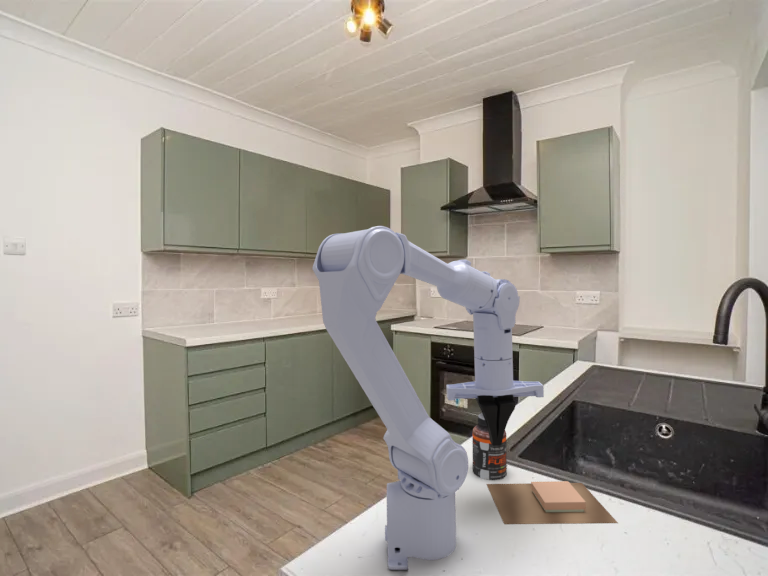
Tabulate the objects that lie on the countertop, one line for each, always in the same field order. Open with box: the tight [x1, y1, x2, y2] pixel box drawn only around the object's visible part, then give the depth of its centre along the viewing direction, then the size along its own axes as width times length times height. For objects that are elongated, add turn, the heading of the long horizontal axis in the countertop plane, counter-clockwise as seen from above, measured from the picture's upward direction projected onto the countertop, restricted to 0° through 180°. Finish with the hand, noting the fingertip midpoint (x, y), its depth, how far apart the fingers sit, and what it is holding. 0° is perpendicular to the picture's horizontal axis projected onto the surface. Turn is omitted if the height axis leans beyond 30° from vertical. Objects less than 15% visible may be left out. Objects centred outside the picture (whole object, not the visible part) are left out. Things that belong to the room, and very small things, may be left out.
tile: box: [530, 480, 586, 512], centre depth 63 cm, size 2×6×6 cm
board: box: [486, 482, 619, 525], centre depth 63 cm, size 16×11×1 cm
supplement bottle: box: [471, 412, 508, 481], centre depth 73 cm, size 6×6×11 cm
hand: (495, 443), depth 63 cm, fingers closed
